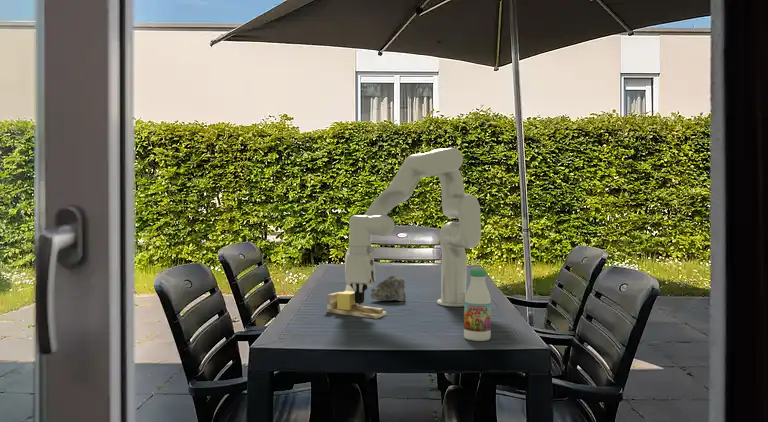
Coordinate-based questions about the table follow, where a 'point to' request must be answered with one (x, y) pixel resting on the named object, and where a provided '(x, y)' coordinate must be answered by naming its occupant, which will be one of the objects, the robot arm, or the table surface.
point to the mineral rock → (390, 290)
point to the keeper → (345, 300)
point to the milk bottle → (477, 308)
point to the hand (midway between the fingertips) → (359, 302)
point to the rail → (357, 313)
